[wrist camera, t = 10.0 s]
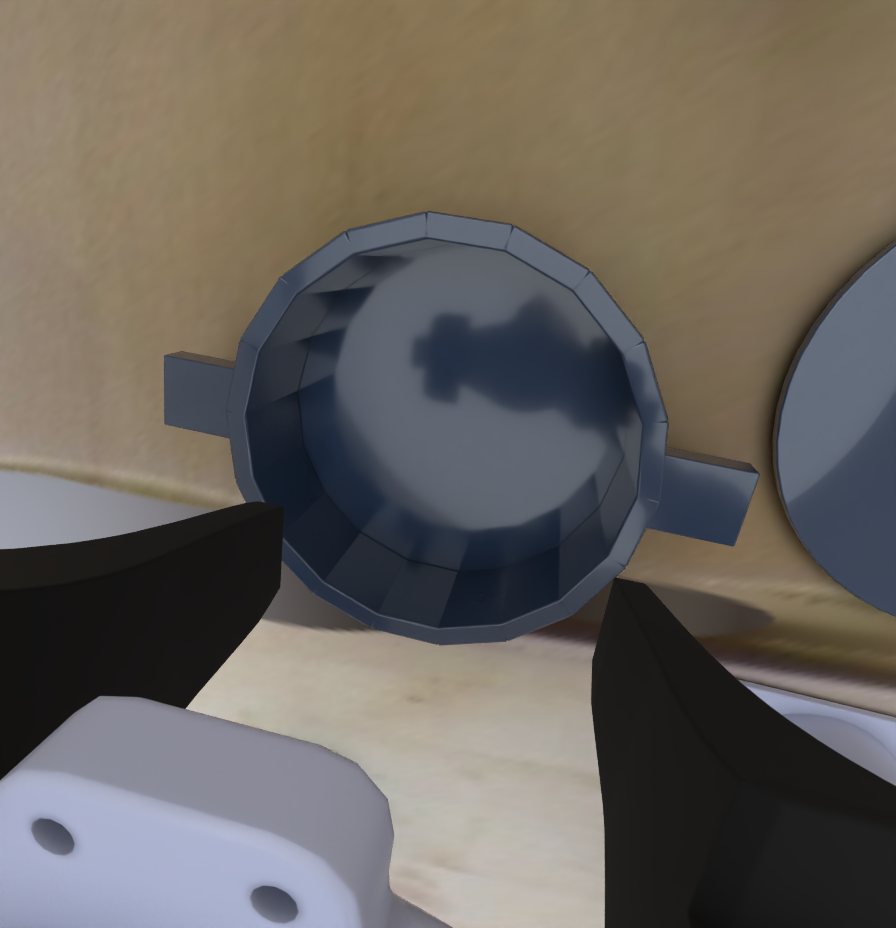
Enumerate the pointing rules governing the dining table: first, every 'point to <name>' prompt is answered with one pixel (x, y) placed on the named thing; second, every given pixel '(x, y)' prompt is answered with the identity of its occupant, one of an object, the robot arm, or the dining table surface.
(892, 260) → the lid
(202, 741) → the robot arm
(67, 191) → the dining table surface
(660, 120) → the dining table surface
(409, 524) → the pot
